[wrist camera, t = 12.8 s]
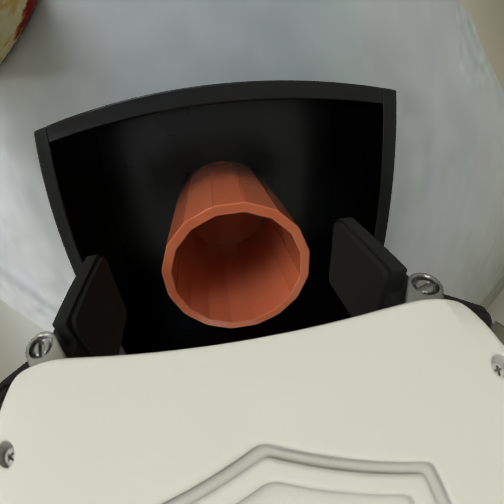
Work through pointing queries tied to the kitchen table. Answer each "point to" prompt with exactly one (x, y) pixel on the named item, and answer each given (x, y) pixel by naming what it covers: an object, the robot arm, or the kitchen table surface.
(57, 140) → the black storage bin
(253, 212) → the cup
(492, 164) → the kitchen table surface
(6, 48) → the food model
